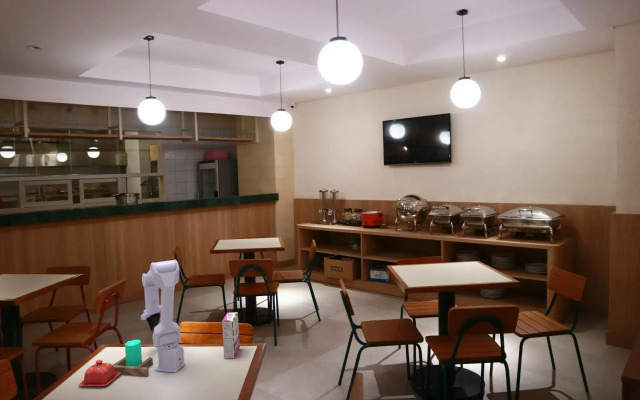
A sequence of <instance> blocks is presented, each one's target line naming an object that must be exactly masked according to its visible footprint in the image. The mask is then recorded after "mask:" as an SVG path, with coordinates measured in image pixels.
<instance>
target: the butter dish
mask: <svg viewBox="0 0 640 400" xmlns="http://www.w3.org/2000/svg"><path fill="white" fill-rule="evenodd" d="M118 376H120V372H115V369H114V366H113V363H108V362H103V359H98V360H95V361H94V364H92V365H91V366H89V367H88V368H87V369H86V370H85V372H84V377H83V380H81V382H80V383H78V387H105V386H108V385H109V384H110V383H112V381H113V380H115V379H116V378H117V377H118Z"/></svg>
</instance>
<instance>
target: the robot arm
mask: <svg viewBox="0 0 640 400" xmlns="http://www.w3.org/2000/svg"><path fill="white" fill-rule="evenodd" d="M149 266H150V267H149V270H148V272H147V273H142V276H141V282H142V286H143V289H144V305H145V306H144V308H145V309H143V313H142V314H141V315H140V320H141V321H146V322H147V323H148V326H149V329H150V331H151V332H153V333H152V344H153V346H154V348H157V355H158V366H157V367H156V368H154V371H155V372H168V373H176V372H178V371H179V370H180V369H182V367H184V366H185V365H186V362H185V352H184V347H182V346H180V345H179V343H180V342H181V337H182V336H181V329H180V326H179V324H178V323H177V322H175V321H174V306H175V305H174V301H175V300H174V298H175V296H174V295H175V286H176V285H177V284H178V283H179V281H180V280H179V279H180V266H179V262H178V261H177V259H173V260H165V261H164V260H163V261H158V262H151V264H150V265H149ZM159 290H161V291H160V296H159Z"/></svg>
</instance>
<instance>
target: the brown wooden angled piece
mask: <svg viewBox="0 0 640 400" xmlns="http://www.w3.org/2000/svg"><path fill="white" fill-rule="evenodd" d="M153 359H154V358H153V357H147V358H146V359H145V360H142V363H140V364H139V365H138V366H136V367H133V366H126V356H125V357H123V358H121V359H119V360H118V361H116V362H114V363H112V365H113V366H114V369H115V372H120V375H121V376H133V377H143V378H144V377H145V378H147V377H149V375H150V372H149V368H150V367H152V366H153V365H154V360H153ZM120 375H119V376H120Z"/></svg>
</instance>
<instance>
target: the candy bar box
mask: <svg viewBox="0 0 640 400" xmlns="http://www.w3.org/2000/svg"><path fill="white" fill-rule="evenodd" d="M238 315H239V313H238V312H237V311H235V312H233V311H232V312H226V314H225V316H224V317H223V319H222V320H221V328H222V329H221V331H222V344H223V355H224V356H223V358H224V359H225V360H228V359H236V358H237V356H238V353H239V351H240V348H241V345H240V344H241V343H240V329H239V316H238Z"/></svg>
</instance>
